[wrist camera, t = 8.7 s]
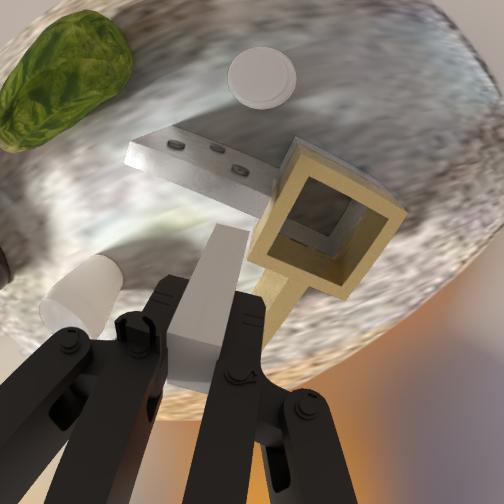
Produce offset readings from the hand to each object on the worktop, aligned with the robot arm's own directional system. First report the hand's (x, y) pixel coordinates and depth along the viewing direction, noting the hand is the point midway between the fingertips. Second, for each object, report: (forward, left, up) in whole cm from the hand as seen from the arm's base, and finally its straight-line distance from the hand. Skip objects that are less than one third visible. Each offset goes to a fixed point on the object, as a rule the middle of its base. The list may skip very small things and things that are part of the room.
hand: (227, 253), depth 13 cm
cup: (-15, -24, -19) cm, 34 cm away
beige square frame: (+7, -7, -19) cm, 21 cm away
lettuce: (-25, +1, -19) cm, 31 cm away
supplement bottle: (-3, +8, -19) cm, 21 cm away
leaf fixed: (+1, -1, -19) cm, 19 cm away
